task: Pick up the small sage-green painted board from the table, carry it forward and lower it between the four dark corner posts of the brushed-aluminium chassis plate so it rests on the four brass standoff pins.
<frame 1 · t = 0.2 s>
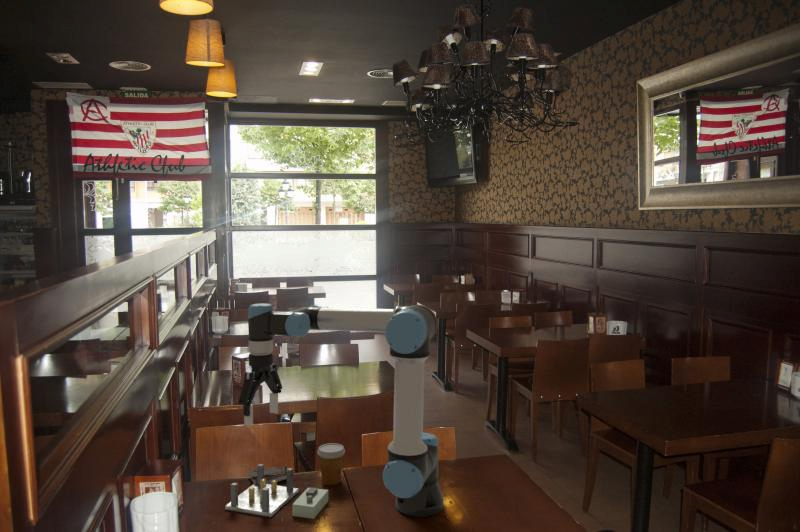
hand: (261, 419, 188), 27 cm above the table, tool pointing down, fingers open, 13 cm apart
board: (310, 509, 186), on the table
disposable coffee cup: (331, 482, 206), on the table
chassis: (263, 500, 191), on the table
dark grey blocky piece: (270, 480, 207), on the table, touching chassis
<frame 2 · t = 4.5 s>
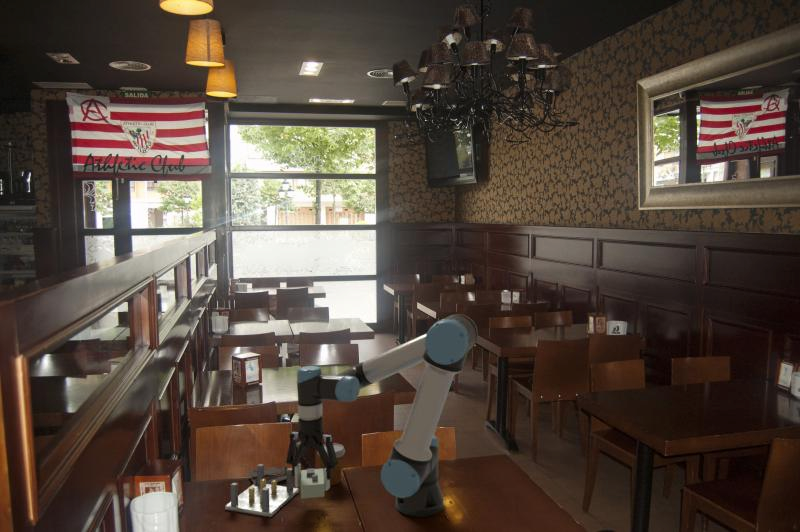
hand: (312, 487, 186), 7 cm above the table, tool pointing down, fingers closed on board, 9 cm apart
board: (312, 489, 185), point 6 cm above the table, touching gripper
everything else where it was.
when the fingers open (5 cm above the table, at t = 8.1 s): board stays where it is, resting on chassis.
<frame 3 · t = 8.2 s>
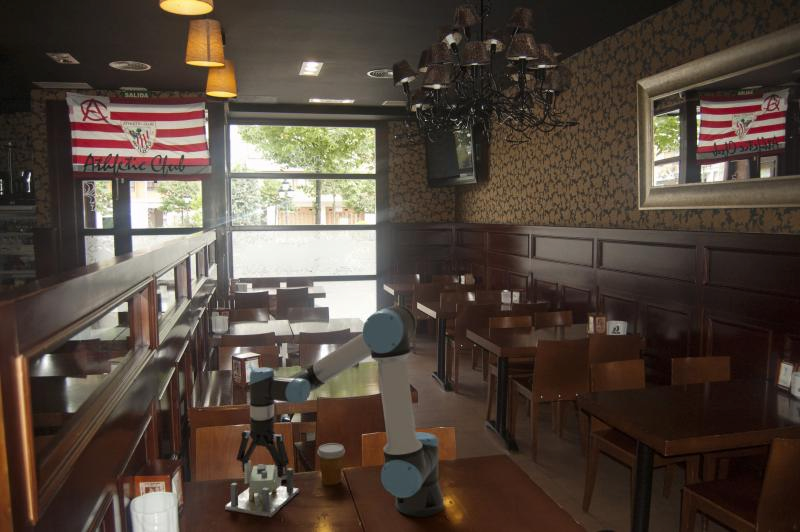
hand: (262, 484, 191), 5 cm above the table, tool pointing down, fingers open, 10 cm apart
board: (262, 484, 191), point 5 cm above the table, touching chassis
everything else where it was.
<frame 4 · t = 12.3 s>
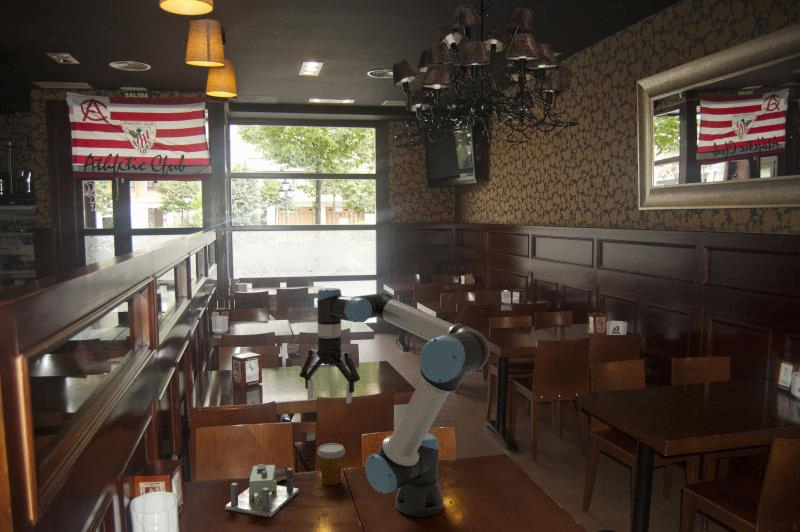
hand: (329, 400, 193), 32 cm above the table, tool pointing down, fingers open, 13 cm apart
nothing on the table moved.
at the end: board 0.1 cm off-centre on the chassis, point 5.2 cm above the chassis's base; board tilted 0°; the gripper is holding nothing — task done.
